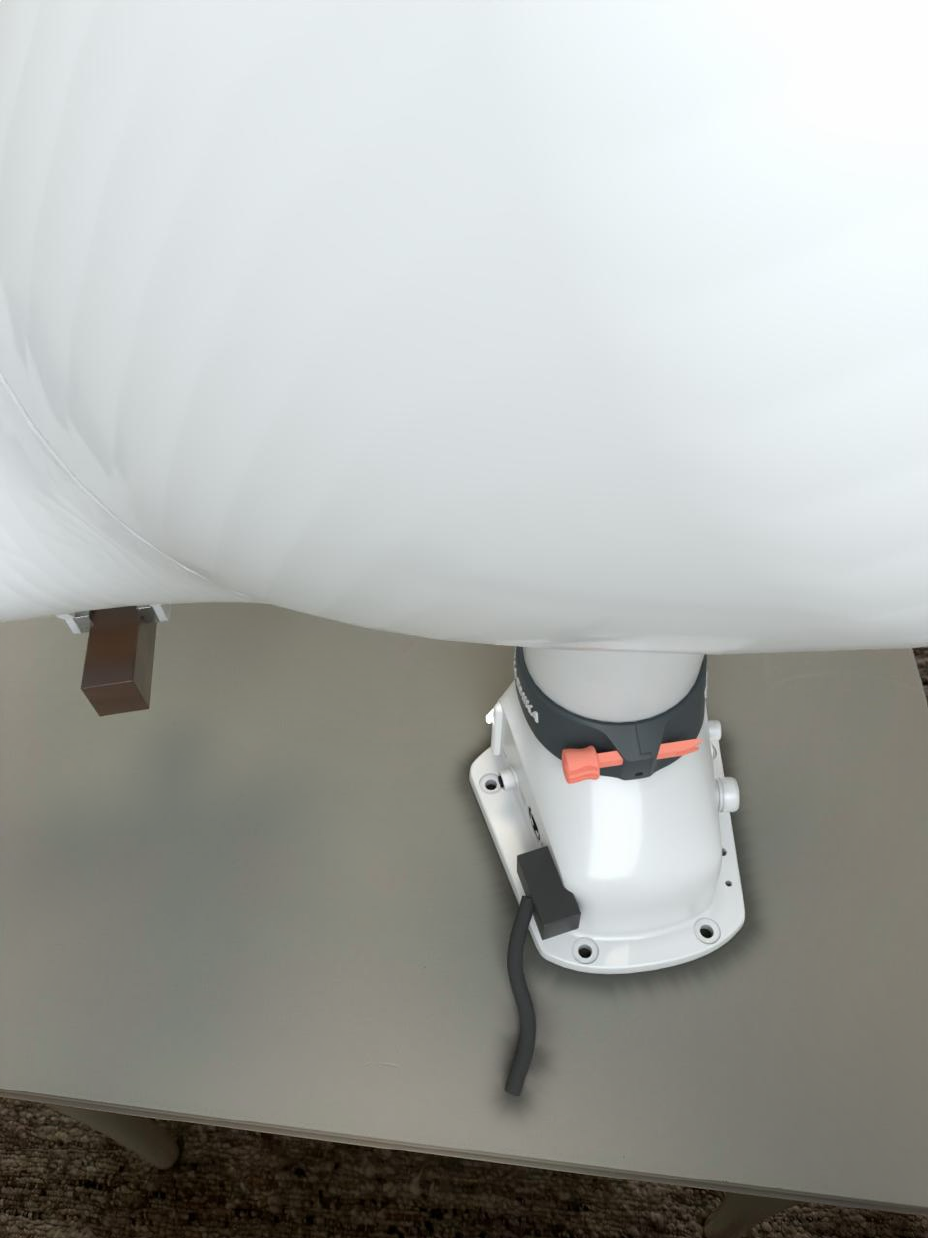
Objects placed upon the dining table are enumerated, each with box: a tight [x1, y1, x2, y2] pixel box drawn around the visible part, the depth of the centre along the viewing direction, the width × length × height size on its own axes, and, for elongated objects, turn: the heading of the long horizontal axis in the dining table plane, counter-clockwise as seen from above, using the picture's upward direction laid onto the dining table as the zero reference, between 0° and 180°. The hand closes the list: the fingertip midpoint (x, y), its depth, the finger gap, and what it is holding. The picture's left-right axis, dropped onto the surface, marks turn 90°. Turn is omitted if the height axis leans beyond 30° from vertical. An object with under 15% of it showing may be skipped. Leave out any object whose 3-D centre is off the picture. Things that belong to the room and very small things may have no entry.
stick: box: [80, 606, 158, 717], centre depth 55 cm, size 12×3×3 cm, turn 9°
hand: (124, 619), depth 54 cm, fingers closed on stick, 3 cm apart
